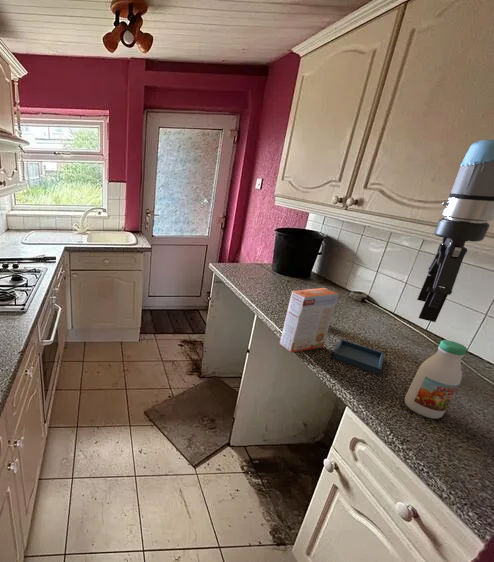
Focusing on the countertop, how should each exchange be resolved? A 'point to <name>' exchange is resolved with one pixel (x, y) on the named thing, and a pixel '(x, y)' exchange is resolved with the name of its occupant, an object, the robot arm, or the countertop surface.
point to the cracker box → (308, 319)
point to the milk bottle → (436, 381)
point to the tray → (359, 356)
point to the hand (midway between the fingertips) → (425, 309)
